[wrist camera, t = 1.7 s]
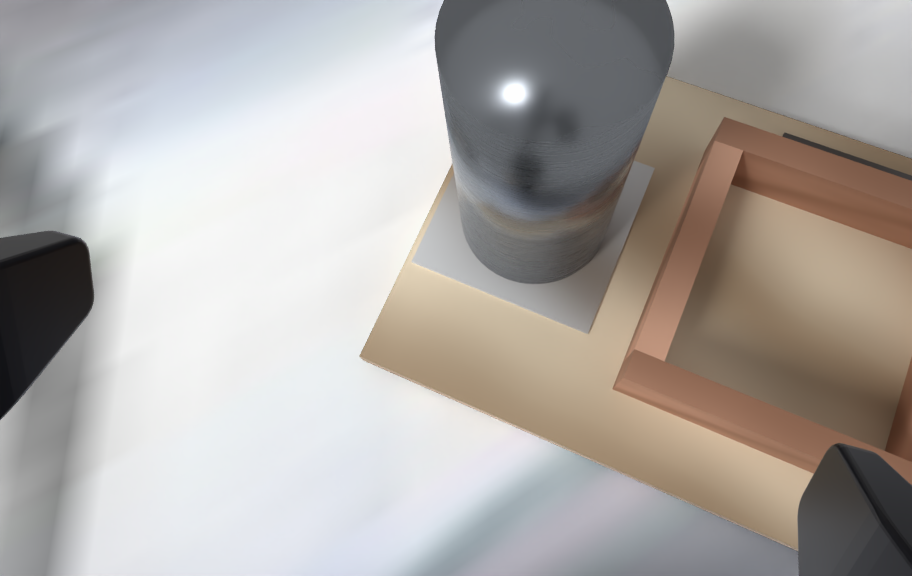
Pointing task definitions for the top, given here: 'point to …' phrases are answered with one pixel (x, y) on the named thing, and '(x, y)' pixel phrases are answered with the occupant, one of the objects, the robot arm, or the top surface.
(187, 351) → the top surface
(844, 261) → the wooden board with frame
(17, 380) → the robot arm
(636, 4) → the dark grey cylinder
